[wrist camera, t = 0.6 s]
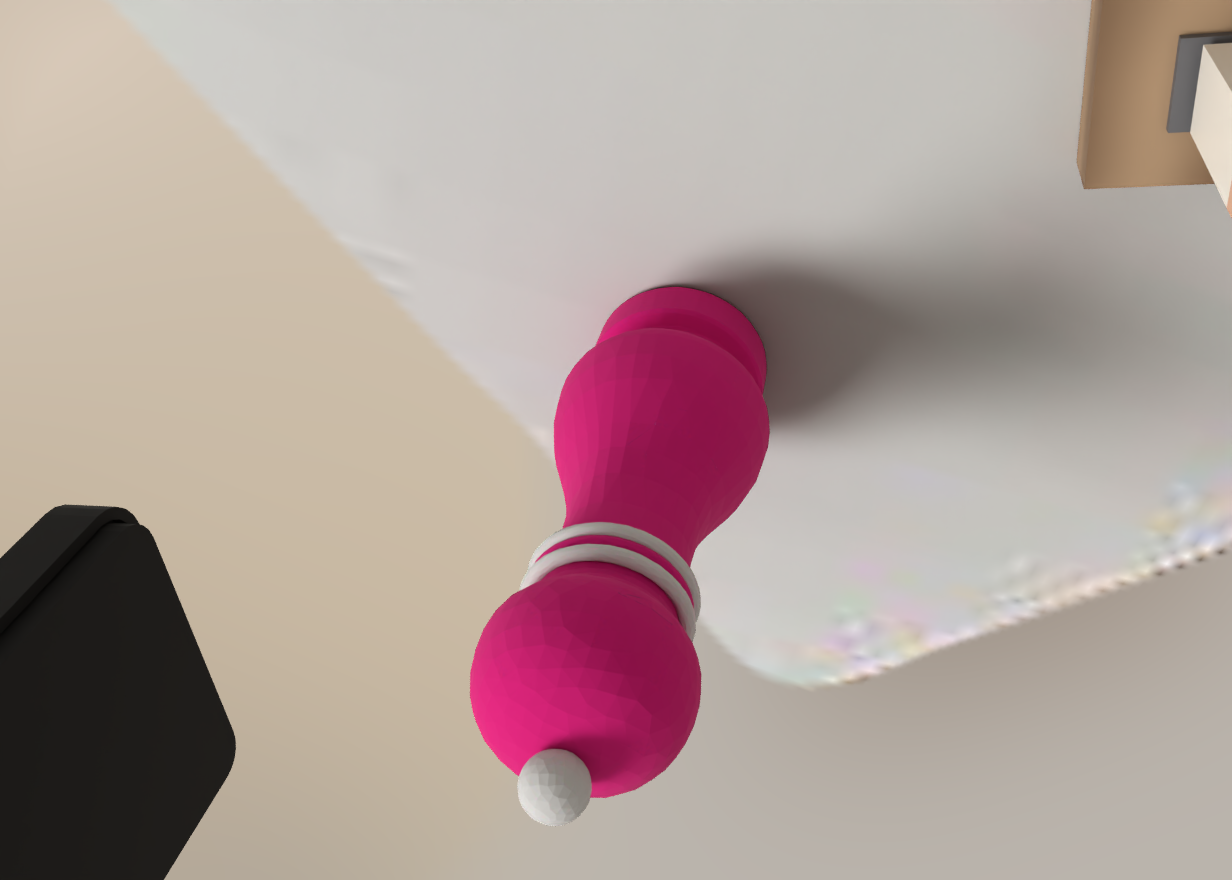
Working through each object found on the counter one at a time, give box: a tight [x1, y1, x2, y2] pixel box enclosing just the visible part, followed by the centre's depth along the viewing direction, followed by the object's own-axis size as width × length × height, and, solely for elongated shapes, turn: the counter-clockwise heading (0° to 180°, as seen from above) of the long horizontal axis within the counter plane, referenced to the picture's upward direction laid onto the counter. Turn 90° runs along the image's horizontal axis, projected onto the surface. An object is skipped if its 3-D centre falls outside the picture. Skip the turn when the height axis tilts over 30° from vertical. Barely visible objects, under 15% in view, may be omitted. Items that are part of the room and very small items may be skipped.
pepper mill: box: [470, 287, 770, 826], centre depth 35 cm, size 7×7×20 cm
